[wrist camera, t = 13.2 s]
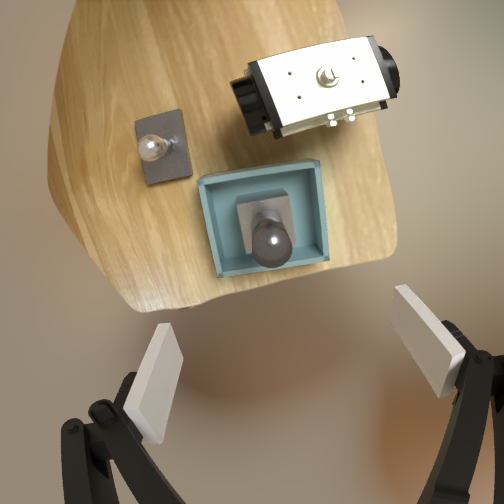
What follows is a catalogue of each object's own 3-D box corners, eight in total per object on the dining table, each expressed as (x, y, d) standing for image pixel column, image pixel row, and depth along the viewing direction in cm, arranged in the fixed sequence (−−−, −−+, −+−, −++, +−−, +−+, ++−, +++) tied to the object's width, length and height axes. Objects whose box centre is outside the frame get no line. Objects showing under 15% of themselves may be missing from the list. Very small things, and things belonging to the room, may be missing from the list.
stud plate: (138, 121, 40) (114, 118, 32) (181, 110, 40) (166, 102, 32) (150, 183, 44) (129, 193, 35) (193, 174, 43) (180, 181, 35)
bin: (203, 175, 43) (196, 180, 38) (310, 158, 43) (319, 160, 37) (221, 262, 48) (217, 278, 43) (320, 246, 47) (329, 260, 42)
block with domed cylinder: (246, 237, 46) (245, 284, 31) (238, 195, 44) (232, 223, 29) (289, 229, 46) (309, 273, 31) (282, 187, 43) (300, 211, 28)
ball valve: (253, 148, 42) (257, 151, 25) (233, 96, 39) (223, 66, 23) (364, 115, 40) (425, 104, 23) (346, 64, 37) (397, 28, 21)
